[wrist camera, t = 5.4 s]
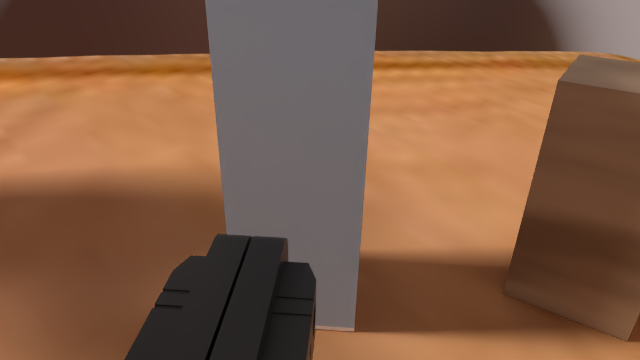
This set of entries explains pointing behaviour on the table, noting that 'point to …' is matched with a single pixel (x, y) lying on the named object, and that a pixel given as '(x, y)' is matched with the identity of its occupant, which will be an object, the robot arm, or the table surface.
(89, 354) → the table surface
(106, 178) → the table surface
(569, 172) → the walnut block
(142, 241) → the table surface
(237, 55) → the bluegrey block
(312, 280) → the robot arm
